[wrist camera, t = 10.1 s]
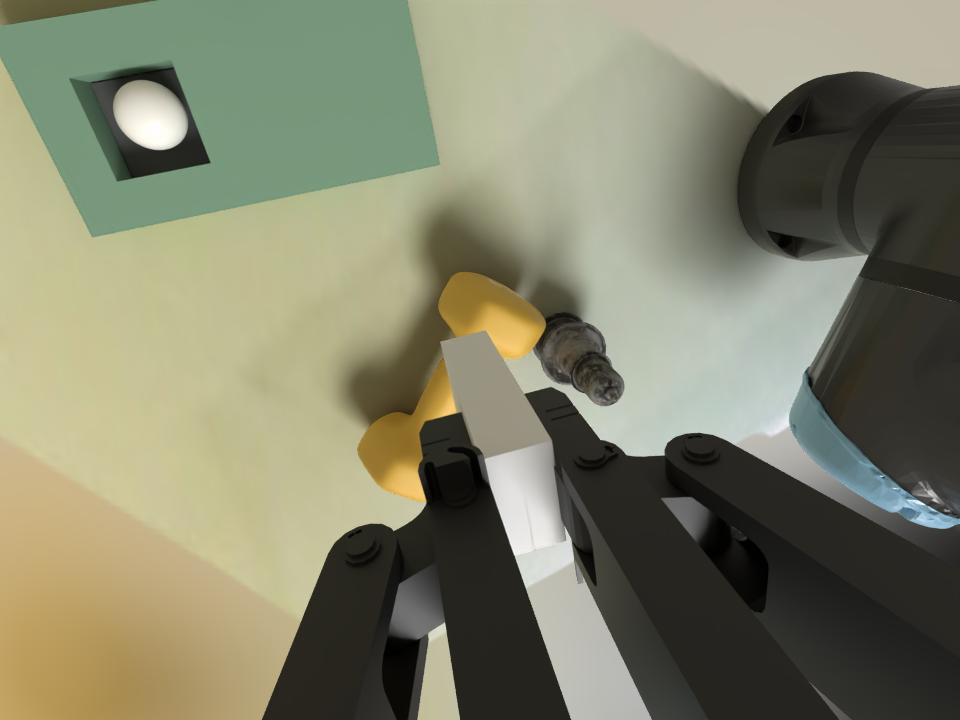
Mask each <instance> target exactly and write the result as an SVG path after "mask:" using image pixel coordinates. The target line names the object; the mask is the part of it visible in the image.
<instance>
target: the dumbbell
mask: <svg viewBox="0 0 960 720" xmlns="http://www.w3.org/2000/svg"><path fill="white" fill-rule="evenodd" d="M438 309H439V312H440V314H441V316H442V318H443V319H444V320H445V321H446V323H447V324H448V325H449V326H450V328H451V329H452V331H453V333H454V336H455V338H457V337H461V336H465V335H469V334H473V333H477V332H481V331H485V330H486V332H487V333H488V335H489V337H490V338H491V340H492V342H493V343H494V345H495V347H496V348H497V350H498V352H499V353H500V355H501V357H502V358H506V359H517V358H520V357H523V356H525V355H526V354H528V353H529V352H530V351H531V350H532V349H533V347H534V346H535V345H536V343H537V342H538V340H539V339H540V337H541V335H542V334H543V332H544V330H545V328H546V322H545V319H544V317H543V316H542V314H541V313H540V312H539V311H538V310H537V309H536V308H535V307H534V306H533V305H532V304H530V303H529V302H528V301H527V300H526V299H524V298H523V297H522V296H520V295H519V294H517V293H516V292H514V291H513V290H511V289H510V288H508V287H506V286H505V285H503V284H501V283H499V282H497V281H495V280H493V279H491V278H488V277H486V276H484V275H481V274H478V273H473V272H459V273H456V274H454V275H453V276H452V277H451V278H450V280H449V282H448V283H447V285H446V287H445V289H444V290H443V292H442V295H441V297H440V300H439V305H438ZM455 413H457V411H456V407H455V403H454V399H453V394H452V390H451V386H450V382H449V377H448V373H447V369H446V365H445V360H444V358H443V359H442V361H441V362H440V364H439V365H438V367H437V369H436V370H435V372H434V373H433V375H432V377H431V379H430V380H429V382H428V384H427V386H426V388H425V390H424V392H423V394H422V396H421V398H420V400H419V402H418V405H417V407H416V409H415V411H414V413H413V414H412V415H408V414H405V413H401V412H393V413H390V414H388V415H385V416H383V417H381V418H380V419H378V420H377V421H375V422H374V423H373V424H372V425H371V426H370V427H369V428H368V429H367V431H366V432H365V434H364V436H363V437H362V439H361V441H360V443H359V445H358V448H357V450H358V455H359V457H360V459H361V461H362V463H363V465H364V466H365V468H366V469H367V471H368V472H369V474H370V475H371V477H372V478H373V479H374V481H375V482H376V483H377V484H378V485H379V486H380V487H381V488H383V489H384V490H386V491H389V492H391V493H394V494H396V495H399V496H402V497H406V498H409V499H412V500H415V501H420V502H426V499H425V495H424V492H423V488H422V485H421V481H420V478H419V475H418V468H419V463H420V462H421V461H422V460H423V456H422V450H421V443H420V437H419V432H420V430H421V428H422V426H423V424H424V422H425V421H428V420H432V419H436V418H439V417H443V416H447V415H451V414H455Z"/></svg>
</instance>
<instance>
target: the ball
mask: <svg viewBox="0 0 960 720" xmlns="http://www.w3.org/2000/svg"><path fill="white" fill-rule="evenodd" d="M113 112H114V116H115V119H116V122H117V124H118V125H119V127H120V129H121V130H122V131H123V132H124V134H125V135H126V136H127V137H128V138H130V139H131V140H132V141H134V142H135V143H137V144H139V145H141V146H143V147H146V148H149V149H153V150H166V149H170V148H172V147H175V146H176V145H178V144H179V143H180V142H181V141H182V140H183V139H184V137H185V136H186V133H187V130H188V117H187V113H186V110H185V108H184V106H183V104H182V103H181V101H180V100H179V99H178V97H177V96H176V95H175V94H174V93H173V92H171V91H170V90H169V89H167V88H166V87H164V86H162V85H161V84H158V83H156V82H152V81H147V80H135V81H131V82H129V83H127V84H125V85H123V86H122V87H121V88H120V89H119V90H118V92H117V93H116V95H115V98H114V102H113Z"/></svg>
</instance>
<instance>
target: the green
mask: <svg viewBox="0 0 960 720" xmlns="http://www.w3.org/2000/svg"><path fill="white" fill-rule="evenodd" d="M0 57H1V59H2V61H3V63H4V65H5V67H6V69H7V71H8V73H9V75H10V77H11V79H12V81H13V83H14V85H15V87H16V89H17V91H18V93H19V95H20V97H21V99H22V101H23V102H24V104H25V106H26V108H27V110H28V112H29V114H30V116H31V118H32V120H33V122H34V124H35V126H36V128H37V130H38V132H39V134H40V136H41V138H42V140H43V142H44V144H45V146H46V148H47V149H48V151H49V153H50V155H51V157H52V159H53V161H54V163H55V165H56V167H57V169H58V171H59V173H60V175H61V177H62V179H63V181H64V183H65V185H66V187H67V189H68V191H69V193H70V195H71V197H72V198H73V200H74V202H75V204H76V206H77V208H78V210H79V212H80V214H81V216H82V218H83V220H84V222H85V224H86V226H87V228H88V230H89V232H90V234H91V236H92V237H96V236H101V235H106V234H111V233H116V232H120V231H125V230H130V229H135V228H140V227H145V226H149V225H154V224H159V223H164V222H169V221H173V220H178V219H183V218H188V217H193V216H197V215H202V214H207V213H212V212H217V211H221V210H226V209H231V208H236V207H241V206H245V205H250V204H255V203H260V202H265V201H269V200H274V199H279V198H284V197H289V196H293V195H298V194H303V193H308V192H313V191H317V190H322V189H327V188H332V187H337V186H342V185H346V184H351V183H356V182H361V181H366V180H370V179H375V178H380V177H385V176H390V175H394V174H399V173H404V172H409V171H414V170H418V169H423V168H428V167H433V166H438V165H440V162H439V157H438V152H437V147H436V142H435V137H434V132H433V127H432V122H431V117H430V112H429V107H428V102H427V97H426V92H425V87H424V82H423V77H422V72H421V67H420V62H419V57H418V52H417V48H416V43H415V38H414V33H413V28H412V23H411V18H410V13H409V8H408V3H407V0H156V1H150V2H143V3H137V4H131V5H125V6H119V7H113V8H107V9H101V10H95V11H89V12H83V13H77V14H70V15H64V16H58V17H52V18H46V19H40V20H34V21H28V22H22V23H16V24H10V25H4V26H0ZM169 68H174V69H170V70H165V71H159V72H154V73H148V74H142V75H137V76H131V77H125V78H120V79H114V80H109V81H103V82H97V83H92V84H90V82H96V81H102V80H107V79H113V78H118V77H124V76H130V75H135V74H141V73H147V72H152V71H158V70H163V69H169ZM135 80H147V81H152V82H156V83H158V84H161V85H162V86H164V87H166V88H167V89H169V90H170V91H171V92H173V93H174V94H175V95H176V96H177V97H178V99H179V100H180V101H181V103H182V104H183V106H184V108H185V110H186V113H187V117H188V130H187V133H186V136H185V137H184V139H183V140H182V141H181V142H180V143H179V144H178V145H176V146H175V147H172V148H170V149H166V150H153V149H149V148H146V147H143V146H141V145H139V144H137V143H135V142H134V141H132V140H131V139H130V138H128V137H127V136H126V135H125V134H124V132H123V131H122V130H121V129H120V127H119V125H118V124H117V122H116V119H115V116H114V112H113V102H114V98H115V95H116V93H117V92H118V90H119V89H120V88H121V87H122V86H123V85H125V84H127V83H129V82H131V81H135ZM93 90H94V91H93ZM94 92H95V93H94ZM95 94H96V95H95ZM98 101H99V102H98ZM99 103H100V104H99ZM100 105H101V106H100ZM102 110H103V111H102ZM103 112H104V113H103ZM104 114H105V115H104ZM105 116H106V117H105ZM107 121H108V122H107ZM108 123H109V124H108ZM109 125H110V126H109ZM112 132H113V133H112ZM113 134H114V135H113ZM114 136H115V137H114ZM117 143H118V144H117ZM118 145H119V146H118ZM119 147H120V148H119ZM122 154H123V155H122ZM123 156H124V157H123ZM124 158H125V159H124ZM210 162H211V163H210ZM126 163H127V164H126ZM205 163H209V164H205ZM200 164H204V165H200ZM127 165H128V166H127ZM195 165H199V166H195ZM190 166H194V167H190ZM128 167H129V168H128ZM185 167H189V168H185ZM180 168H184V169H180ZM129 169H130V170H129ZM175 169H179V170H175ZM170 170H174V171H170ZM165 171H169V172H165ZM159 172H164V173H159ZM154 173H158V174H154ZM131 174H132V175H131ZM149 174H153V175H149ZM144 175H148V176H144ZM132 176H133V177H132ZM139 176H143V177H139ZM134 177H138V178H134Z"/></svg>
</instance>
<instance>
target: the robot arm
mask: <svg viewBox="0 0 960 720" xmlns="http://www.w3.org/2000/svg"><path fill="white" fill-rule="evenodd" d="M738 203H739V210H740V214H741V218H742V221H743V223H744V226H745V228H746V230H747V232H748V233H749V235H750V236H751V237H752V239H753V240H754V241H755V242H756V243H757V244H758V245H759V246H760V247H762V248H763V249H765V250H766V251H768V252H770V253H773V254H776V255H779V256H783V257H786V258H790V259H794V260H800V261H819V260H827V259H836V258H844V257H853V256H861V255H869V256H868V258H867V260H866V262H865V264H864V266H863V268H862V270H861V272H860V274H859V275H858V277H857V279H856V280H855V282H854V284H853V286H852V288H851V290H850V292H849V294H848V296H847V298H846V300H845V302H844V304H843V306H842V308H841V309H840V311H839V313H838V315H837V317H836V319H835V321H834V323H833V325H832V327H831V329H830V331H829V333H828V335H827V336H826V338H825V340H824V342H823V344H822V346H821V348H820V350H819V352H818V353H817V355H816V357H815V359H814V361H813V362H812V364H811V366H810V367H808V368H807V369H806V371H805V373H804V374H803V383H802V385H801V387H800V390H799V392H798V394H797V397H796V399H795V401H794V403H793V405H792V407H791V410H790V414H789V423H790V428H791V430H792V432H793V435H794V436H795V437H796V439H797V441H798V443H799V445H800V446H801V447H802V449H803V450H804V451H805V452H806V453H807V454H808V455H809V456H810V457H811V458H812V459H813V460H814V461H815V462H816V463H817V464H818V465H819V466H820V467H822V468H823V469H824V470H825V471H826V472H827V473H829V474H830V475H831V476H833V477H834V478H835V479H837V480H838V481H839V482H841V483H842V484H843V485H845V486H846V487H848V488H849V489H851V490H852V491H854V492H855V493H857V494H859V495H860V496H862V497H863V498H865V499H867V500H869V501H870V502H872V503H874V504H875V505H877V506H879V507H881V508H883V509H885V510H887V511H889V512H898V513H899V514H901V515H902V516H903V517H905V518H906V519H908V520H909V521H912V522H915V523H918V524H920V525H924V526H927V527H933V528H943V529H944V528H950V527H952V526H954V525H955V524H960V85H958V86H949V87H941V88H931V89H925V88H922V87H918V86H915V85H912V84H909V83H905V82H902V81H899V80H896V79H892V78H889V77H885V76H882V75H879V74H875V73H870V72H846V73H840V74H833V75H827V76H822V77H819V78H816V79H813V80H810V81H808V82H806V83H804V84H802V85H800V86H799V87H797V88H796V89H794V90H793V91H792V92H790V93H789V94H788V95H786V96H785V97H784V98H783V99H781V100H780V101H779V102H778V103H777V104H776V105H775V106H774V107H773V108H772V110H771V111H770V112H769V113H768V114H767V116H766V117H765V118H764V120H763V121H762V122H761V124H760V125H759V127H758V129H757V130H756V132H755V134H754V136H753V137H752V139H751V141H750V144H749V146H748V148H747V151H746V153H745V156H744V159H743V163H742V166H741V171H740V176H739V184H738ZM875 280H876V281H875ZM879 281H880V282H879ZM883 282H884V283H883ZM887 283H888V284H887ZM890 284H891V285H890ZM894 285H895V286H894ZM898 286H899V287H898ZM902 287H903V288H902ZM905 288H907V289H905ZM909 289H911V290H909ZM913 290H914V291H913ZM916 291H918V292H916ZM920 292H922V293H920ZM924 293H925V294H924ZM928 294H929V295H928ZM931 295H933V296H931ZM935 296H936V297H935ZM939 297H940V298H939ZM942 298H944V299H942ZM946 299H947V300H946ZM950 300H951V301H950ZM953 301H954V302H953ZM957 302H958V303H957ZM440 343H441V348H442V352H443V356H444V360H445V365H446V369H447V373H448V377H449V382H450V386H451V390H452V394H453V399H454V403H455V407H456V411H457V413H455V414H451V415H447V416H443V417H439V418H436V419H432V420H428V421H425V422H424V424H423V426H422V428H421V430H420V432H419V437H420V443H421V450H422V456H423V460H422V461H421V462H420V463H419V468H418V475H419V478H420V481H421V485H422V488H423V492H424V495H425V499H426V502H427V503H426V506H425V507H424V509H423V510H422V512H421V513H420V514H419V515H418V516H417V517H416V518H415V519H414V520H412V521H411V522H409V523H408V524H406V525H404V526H403V527H401V528H399V529H397V530H395V531H393V530H392V528H390V527H387V526H385V525H383V524H367V525H363V526H359V527H357V528H355V529H353V530H351V531H349V532H347V533H345V534H344V535H343V536H342V537H341V538H340V539H339V540H337V541H336V542H335V544H334V545H333V547H332V548H331V550H330V552H329V553H328V556H327V558H326V561H325V563H324V566H323V568H322V571H321V573H320V576H319V578H318V581H317V583H316V586H315V588H314V591H313V593H312V596H311V598H310V601H309V603H308V606H307V608H306V611H305V613H304V616H303V618H302V621H301V623H300V626H299V628H298V631H297V633H296V636H295V638H294V641H293V643H292V646H291V648H290V651H289V653H288V656H287V658H286V661H285V663H284V666H283V668H282V671H281V673H280V676H279V678H278V681H277V683H276V686H275V688H274V691H273V693H272V696H271V698H270V701H269V703H268V706H267V708H266V711H265V714H264V716H263V718H262V720H417V717H418V711H419V703H420V696H421V689H422V682H423V675H424V668H425V661H426V654H427V647H428V640H429V639H428V633H429V632H430V631H432V630H433V629H435V628H436V627H438V626H440V625H441V624H443V623H444V622H445V624H446V630H447V637H448V643H449V650H450V656H451V663H452V670H453V676H454V682H455V689H456V696H457V702H458V709H459V715H460V720H571V718H570V715H569V713H568V710H567V707H566V704H565V701H564V698H563V695H562V692H561V689H560V686H559V684H558V681H557V678H556V675H555V672H554V669H553V666H552V664H551V660H550V658H549V655H548V652H547V649H546V646H545V643H544V640H543V637H542V634H541V631H540V629H539V626H538V623H537V620H536V617H535V614H534V611H533V608H532V605H531V602H530V600H529V597H528V594H527V591H526V588H525V585H524V582H523V579H522V576H521V574H520V571H519V568H518V565H517V562H516V559H515V556H516V555H519V554H522V553H526V552H529V551H533V550H536V549H539V548H543V547H546V546H550V545H553V544H556V543H560V542H563V541H566V535H565V528H564V525H565V527H566V529H567V531H568V533H569V535H570V537H571V540H572V547H573V554H574V562H575V569H576V576H577V581H578V584H580V583H583V578H582V575H583V577H584V579H585V581H586V583H587V585H588V587H589V589H590V592H591V594H592V596H593V598H594V600H595V602H596V604H597V606H598V608H599V610H600V612H601V614H602V616H603V618H604V620H605V623H606V625H607V627H608V629H609V631H610V633H611V635H612V637H613V639H614V641H615V643H616V645H617V648H618V650H619V652H620V654H621V656H622V658H623V660H624V662H625V664H626V666H627V669H628V670H629V673H630V675H631V677H632V679H633V681H634V683H635V685H636V687H637V689H638V691H639V694H640V696H641V698H642V700H643V702H644V704H645V706H646V708H647V710H648V712H649V714H650V716H651V719H652V720H839V719H838V718H837V716H836V715H835V714H834V713H833V711H832V710H831V709H830V708H829V706H828V705H827V704H826V703H825V701H824V700H823V699H822V698H821V696H820V695H819V694H818V693H817V692H816V690H815V689H814V688H813V687H812V685H811V684H810V683H812V684H813V685H814V686H815V687H816V688H817V689H818V690H819V691H820V692H821V693H823V694H824V695H825V696H826V697H827V698H828V699H829V700H830V701H832V702H833V703H834V704H835V705H836V706H837V707H838V708H839V709H841V710H842V711H843V712H844V713H845V714H846V715H847V716H848V717H849V718H851V719H852V720H960V569H958V568H956V567H954V566H953V565H951V564H949V563H947V562H945V561H943V560H942V559H940V558H938V557H936V556H934V555H933V554H931V553H929V552H927V551H925V550H924V549H922V548H920V547H918V546H916V545H915V544H913V543H911V542H909V541H907V540H905V539H904V538H902V537H900V536H898V535H896V534H895V533H893V532H891V531H889V530H887V529H886V528H884V527H882V526H880V525H878V524H876V523H875V522H873V521H871V520H869V519H867V518H866V517H864V516H862V515H860V514H858V513H856V512H855V511H853V510H851V509H849V508H847V507H846V506H844V505H842V504H840V503H838V502H837V501H835V500H833V499H831V498H829V497H827V496H826V495H824V494H822V493H820V492H818V491H817V490H815V489H813V488H811V487H809V486H808V485H806V484H804V483H802V482H800V481H799V480H797V479H795V478H793V477H791V476H790V475H788V474H786V473H784V472H782V471H780V470H779V469H777V468H775V467H773V466H771V465H770V464H768V463H766V462H764V461H762V460H761V459H758V458H757V457H755V456H753V455H751V454H749V453H748V452H746V451H744V450H742V449H741V448H739V447H737V446H735V445H733V444H732V443H730V442H728V441H726V440H724V439H722V438H719V437H716V436H714V435H709V434H703V433H690V434H684V435H681V436H677V437H675V438H673V439H672V440H671V441H669V442H668V443H667V446H666V448H665V456H647V457H635V456H627V455H626V454H625V453H624V452H623V451H622V450H621V449H620V448H619V447H618V446H616V445H615V444H613V443H610V442H607V441H604V440H600V439H599V438H598V436H597V435H596V434H595V432H594V431H593V430H592V428H591V427H590V426H589V424H588V423H587V422H586V421H585V419H584V418H583V417H582V415H581V414H579V411H578V410H577V409H576V407H575V406H573V404H572V402H571V401H570V400H569V398H568V397H567V396H566V394H564V393H562V392H560V391H558V390H556V389H554V388H552V387H549V388H546V389H542V390H538V391H534V392H530V393H526V394H524V393H523V391H522V390H521V388H520V387H519V385H518V383H517V382H516V380H515V378H514V377H513V375H512V373H511V372H510V370H509V368H508V367H507V365H506V363H505V362H504V360H503V358H502V357H501V355H500V353H499V352H498V350H497V348H496V347H495V345H494V343H493V342H492V340H491V338H490V337H489V335H488V333H487V332H486V330H485V331H481V332H477V333H473V334H469V335H465V336H461V337H457V338H452V339H448V340H444V341H440ZM734 528H735V529H734ZM737 530H738V531H737ZM740 532H741V533H740ZM808 681H809V682H810V683H809V682H808Z"/></svg>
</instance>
